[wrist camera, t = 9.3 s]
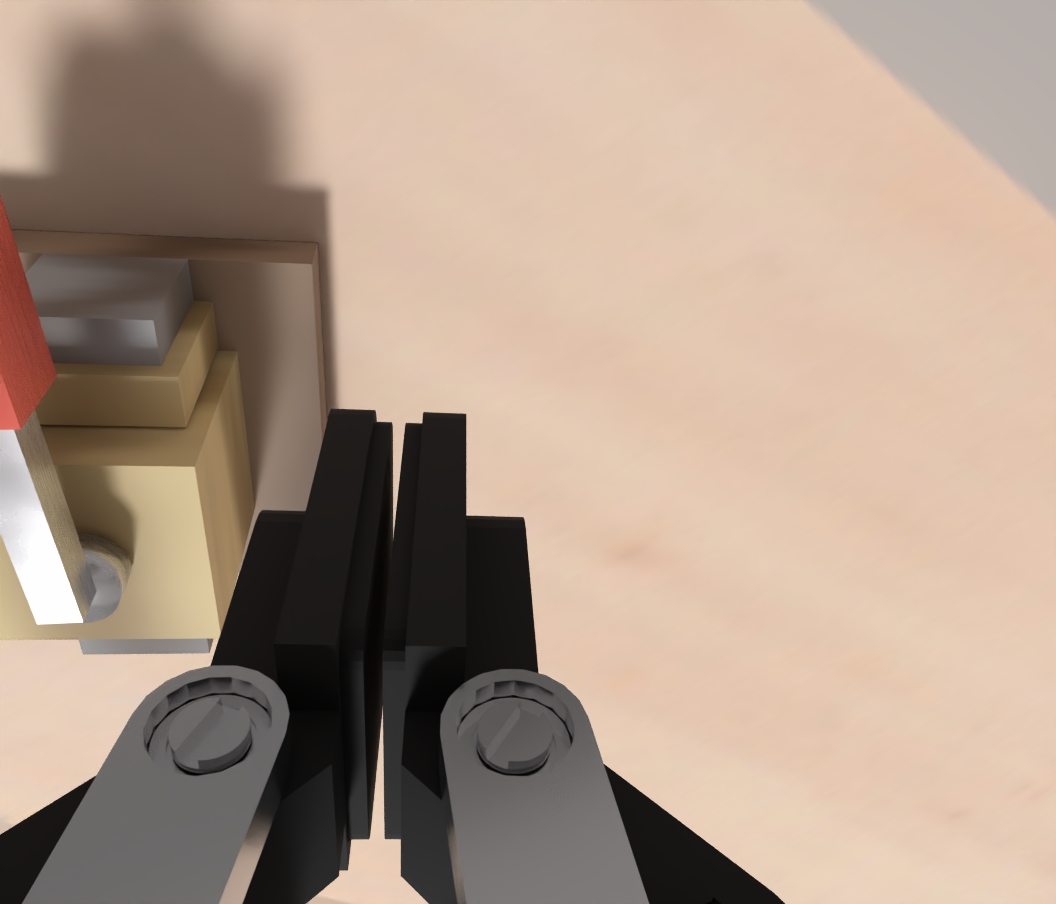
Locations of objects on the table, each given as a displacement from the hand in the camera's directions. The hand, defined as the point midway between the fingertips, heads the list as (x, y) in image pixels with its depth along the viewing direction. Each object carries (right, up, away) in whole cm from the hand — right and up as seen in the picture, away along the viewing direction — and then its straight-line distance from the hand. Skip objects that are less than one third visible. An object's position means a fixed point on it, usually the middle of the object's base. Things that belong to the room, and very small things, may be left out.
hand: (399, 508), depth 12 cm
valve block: (-10, +2, +16) cm, 19 cm away
